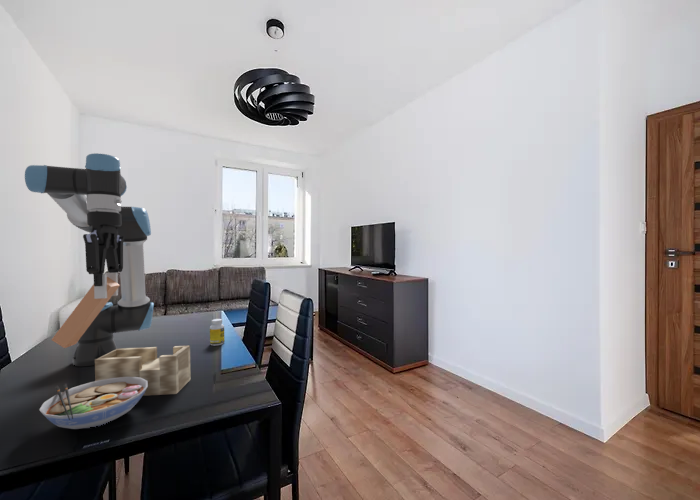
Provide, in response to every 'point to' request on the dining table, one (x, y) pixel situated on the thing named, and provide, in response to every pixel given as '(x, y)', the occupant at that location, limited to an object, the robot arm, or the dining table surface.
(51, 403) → the ramen bowl
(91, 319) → the tan block
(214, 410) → the dining table surface
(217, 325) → the pill bottle
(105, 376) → the box
